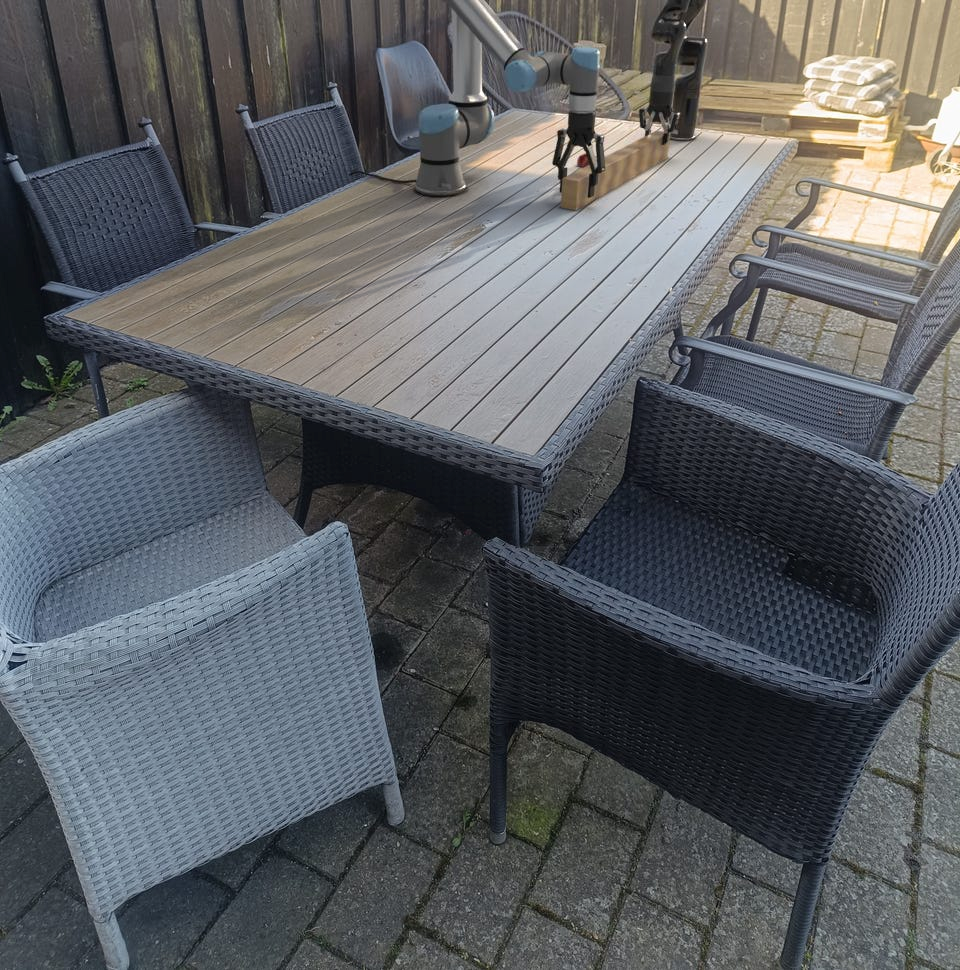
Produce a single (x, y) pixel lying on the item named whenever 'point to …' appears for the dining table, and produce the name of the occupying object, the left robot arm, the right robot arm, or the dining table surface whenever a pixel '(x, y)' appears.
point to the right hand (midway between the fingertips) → (655, 143)
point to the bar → (614, 170)
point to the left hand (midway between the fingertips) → (576, 193)
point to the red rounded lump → (583, 160)
